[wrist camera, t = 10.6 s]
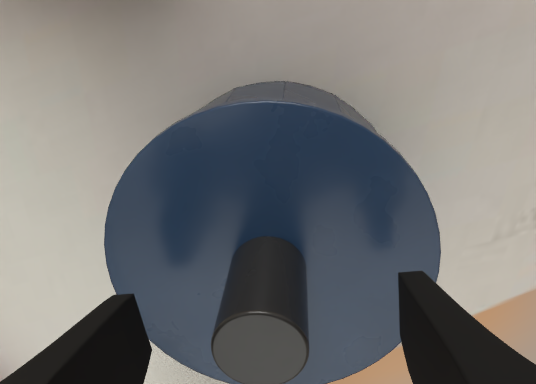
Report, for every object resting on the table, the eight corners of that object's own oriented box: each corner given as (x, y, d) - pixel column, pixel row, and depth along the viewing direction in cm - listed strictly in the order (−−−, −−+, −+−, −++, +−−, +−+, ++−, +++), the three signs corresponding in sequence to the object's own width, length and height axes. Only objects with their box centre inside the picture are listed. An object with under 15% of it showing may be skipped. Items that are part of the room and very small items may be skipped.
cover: (432, 69, 12) (508, 106, 8) (430, 358, 16) (478, 488, 12) (75, 116, 13) (-32, 171, 9) (158, 374, 17) (112, 497, 13)
